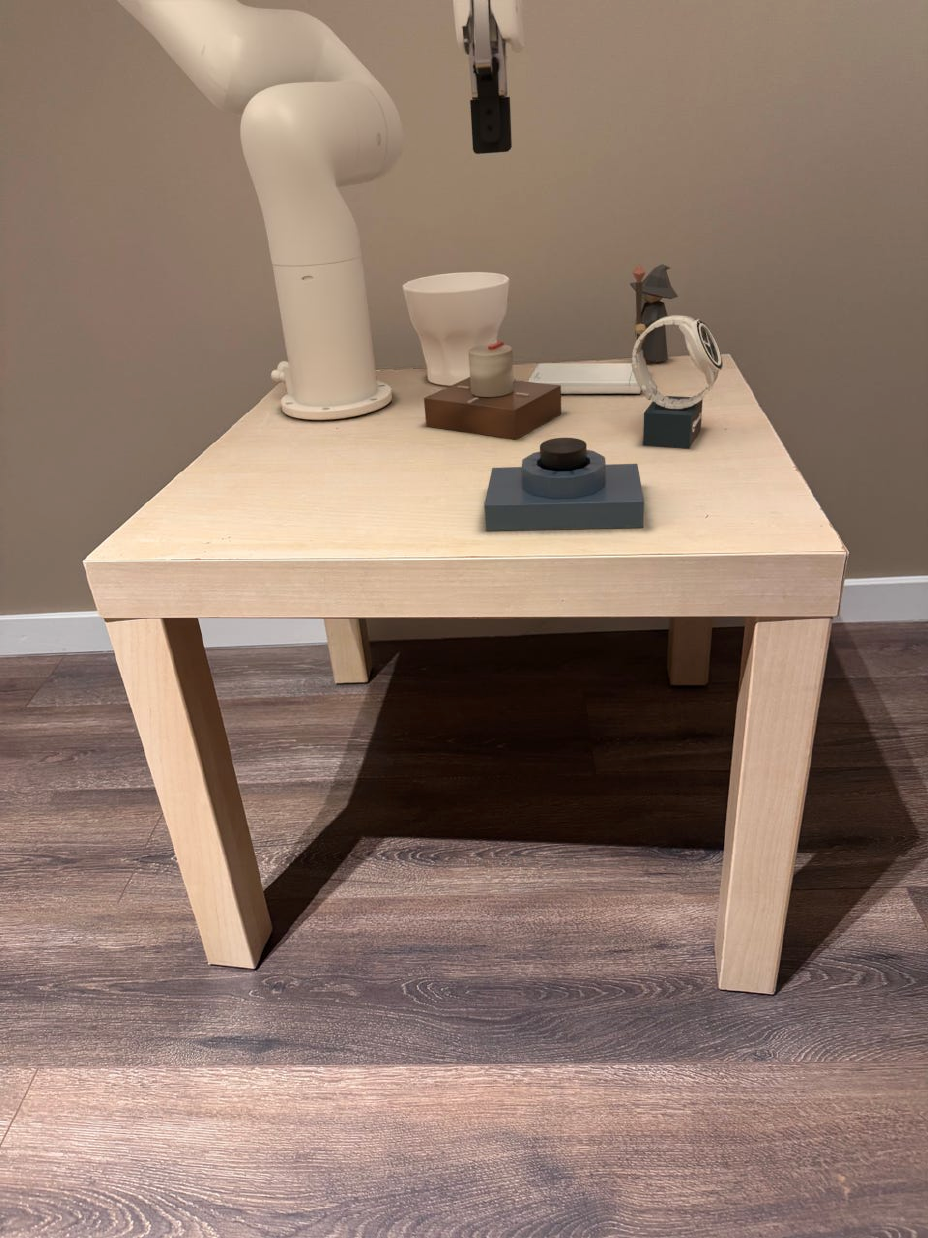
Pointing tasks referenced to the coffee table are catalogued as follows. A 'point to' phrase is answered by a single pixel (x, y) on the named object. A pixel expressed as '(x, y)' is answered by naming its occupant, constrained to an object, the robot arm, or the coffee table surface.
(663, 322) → the watch
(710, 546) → the coffee table surface
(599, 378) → the hard drive
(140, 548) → the coffee table surface
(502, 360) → the knob
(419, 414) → the coffee table surface
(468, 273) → the cup
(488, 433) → the brown wooden block
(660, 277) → the wizard figurine
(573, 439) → the button
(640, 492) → the button box
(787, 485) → the coffee table surface
